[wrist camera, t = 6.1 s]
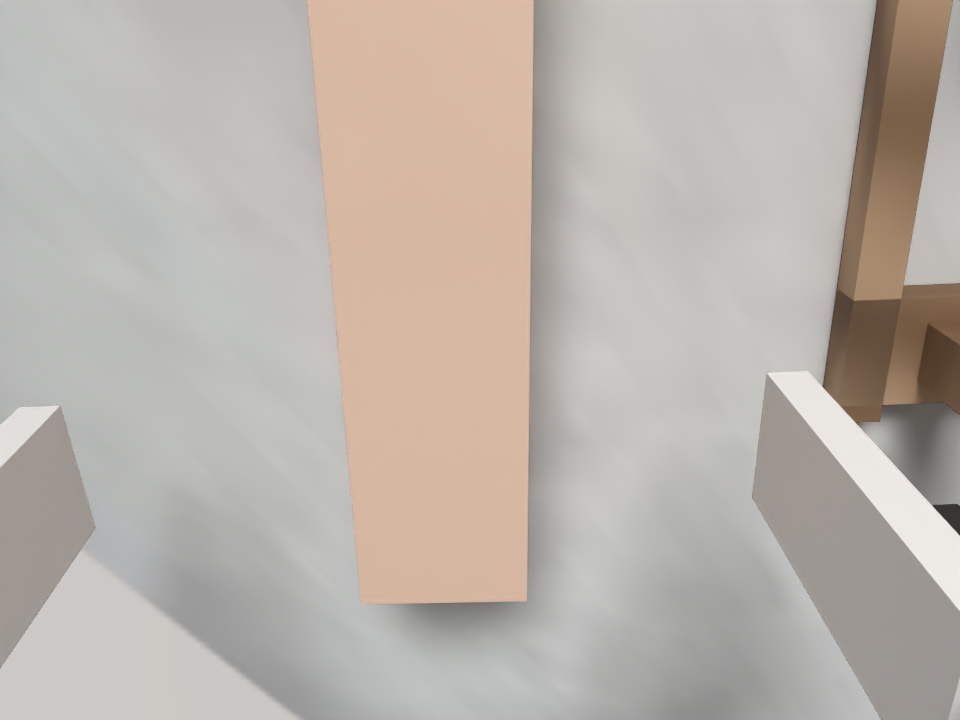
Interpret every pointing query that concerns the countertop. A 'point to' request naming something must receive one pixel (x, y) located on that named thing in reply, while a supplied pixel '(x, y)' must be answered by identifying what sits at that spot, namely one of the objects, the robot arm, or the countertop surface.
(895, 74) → the rack
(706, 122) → the countertop surface
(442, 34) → the clay strip
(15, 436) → the robot arm
